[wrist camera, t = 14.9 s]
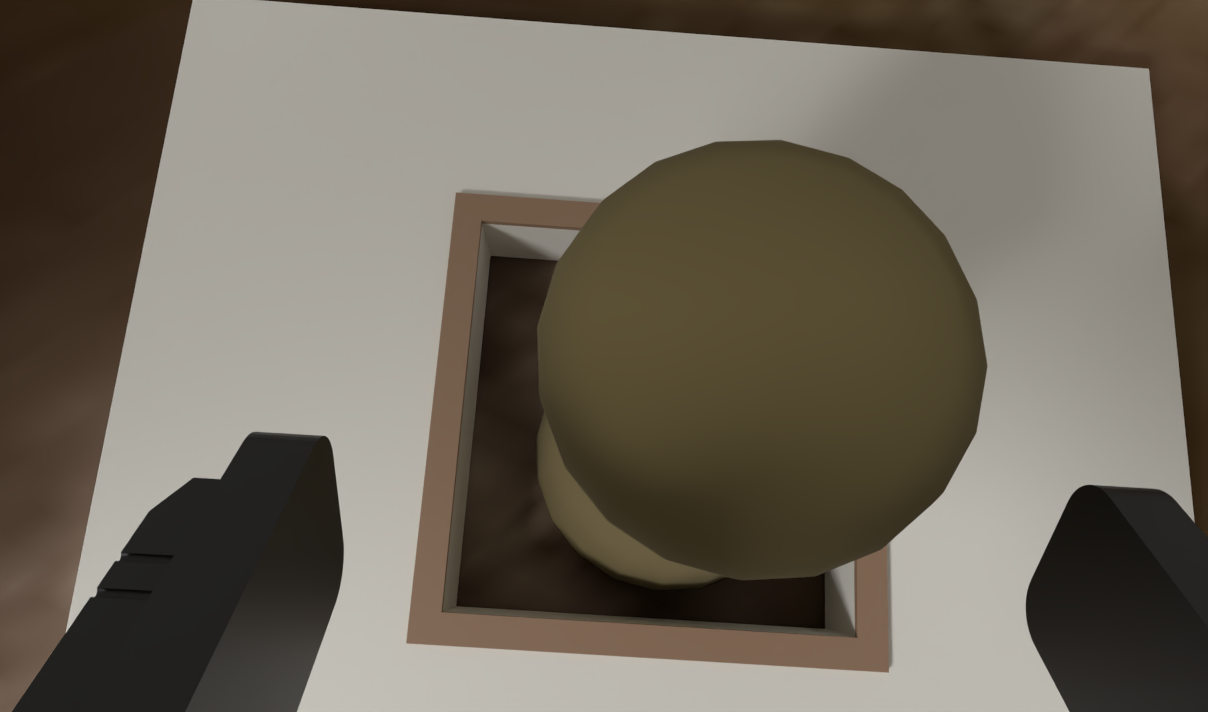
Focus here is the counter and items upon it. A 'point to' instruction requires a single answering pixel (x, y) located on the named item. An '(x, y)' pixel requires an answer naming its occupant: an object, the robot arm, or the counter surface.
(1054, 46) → the counter surface
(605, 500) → the cork
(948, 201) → the socket board
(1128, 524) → the robot arm
